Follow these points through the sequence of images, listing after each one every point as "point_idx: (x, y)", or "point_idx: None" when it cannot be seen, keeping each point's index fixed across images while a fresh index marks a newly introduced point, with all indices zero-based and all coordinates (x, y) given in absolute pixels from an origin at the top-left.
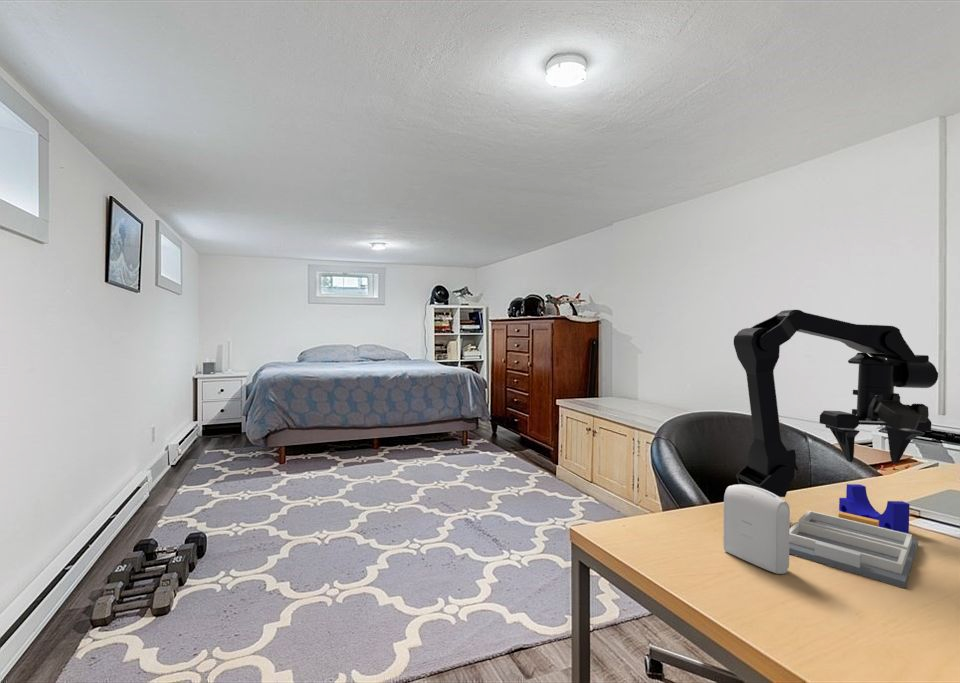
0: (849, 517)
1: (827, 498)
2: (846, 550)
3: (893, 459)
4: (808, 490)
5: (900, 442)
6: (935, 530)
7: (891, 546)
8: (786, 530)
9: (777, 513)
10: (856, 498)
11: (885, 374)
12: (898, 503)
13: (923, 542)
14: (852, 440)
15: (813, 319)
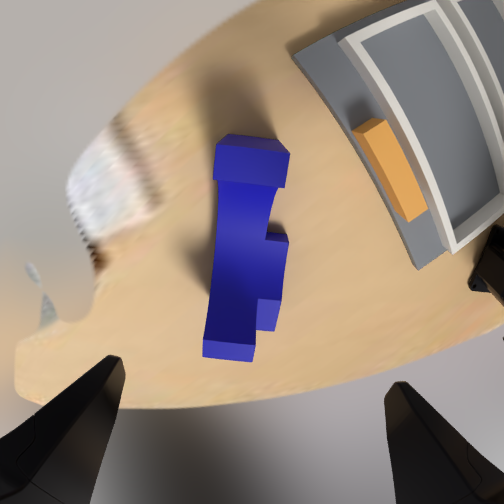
0: (416, 183)
1: (225, 367)
2: None
3: (118, 384)
4: (227, 401)
5: (50, 471)
6: (119, 156)
7: (465, 19)
8: None
9: None
10: (249, 309)
11: None
12: (263, 154)
13: (248, 73)
14: (476, 478)
15: None
